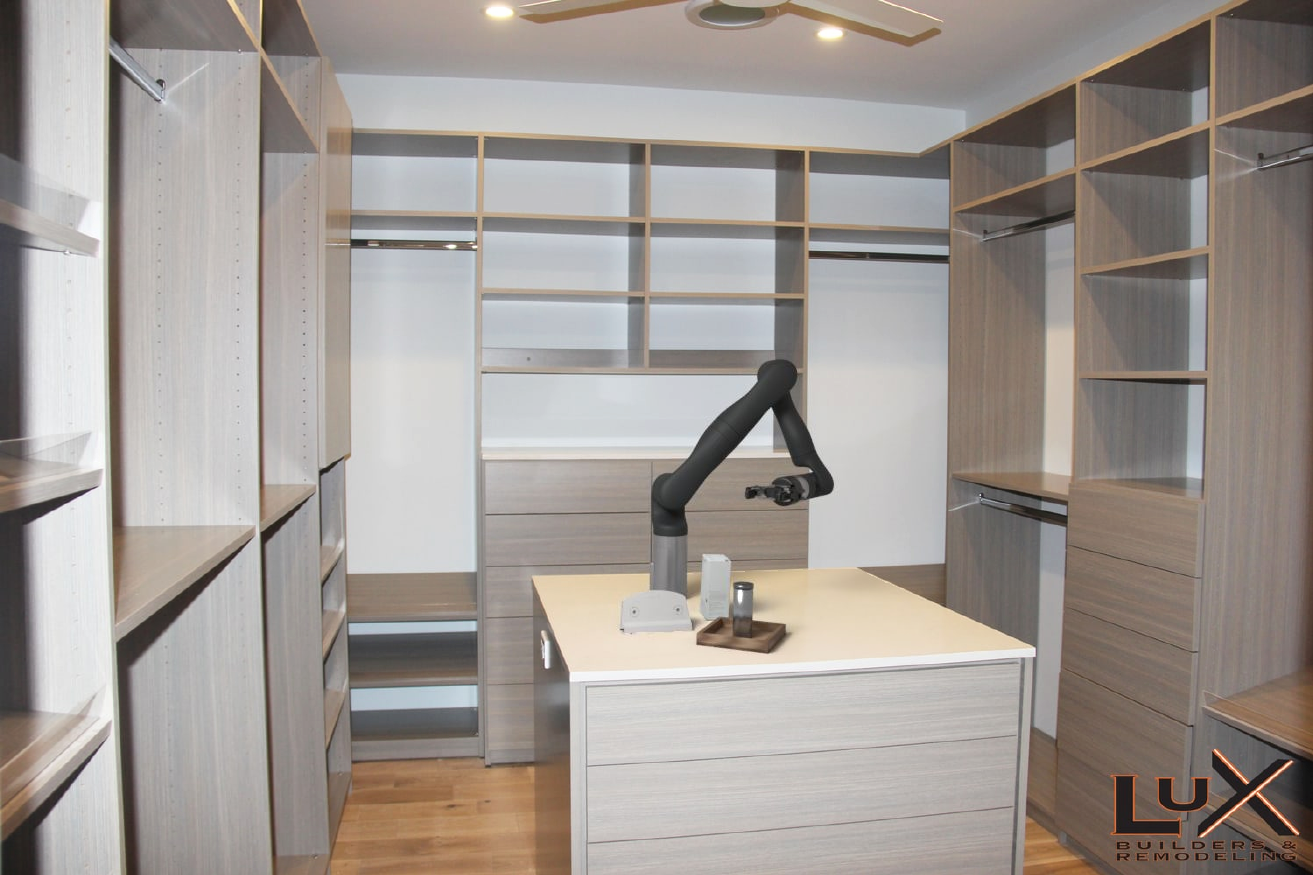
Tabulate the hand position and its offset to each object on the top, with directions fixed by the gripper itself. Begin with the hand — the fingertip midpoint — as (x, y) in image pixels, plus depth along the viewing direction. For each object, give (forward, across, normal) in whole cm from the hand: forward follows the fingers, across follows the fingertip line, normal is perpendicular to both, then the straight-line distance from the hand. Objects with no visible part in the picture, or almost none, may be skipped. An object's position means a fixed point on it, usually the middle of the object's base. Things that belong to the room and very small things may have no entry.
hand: (762, 496), depth 220 cm
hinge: (+23, -16, +30) cm, 41 cm away
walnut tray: (+20, +5, +30) cm, 36 cm away
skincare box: (+5, -10, +30) cm, 32 cm away
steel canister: (+20, +5, +29) cm, 36 cm away
